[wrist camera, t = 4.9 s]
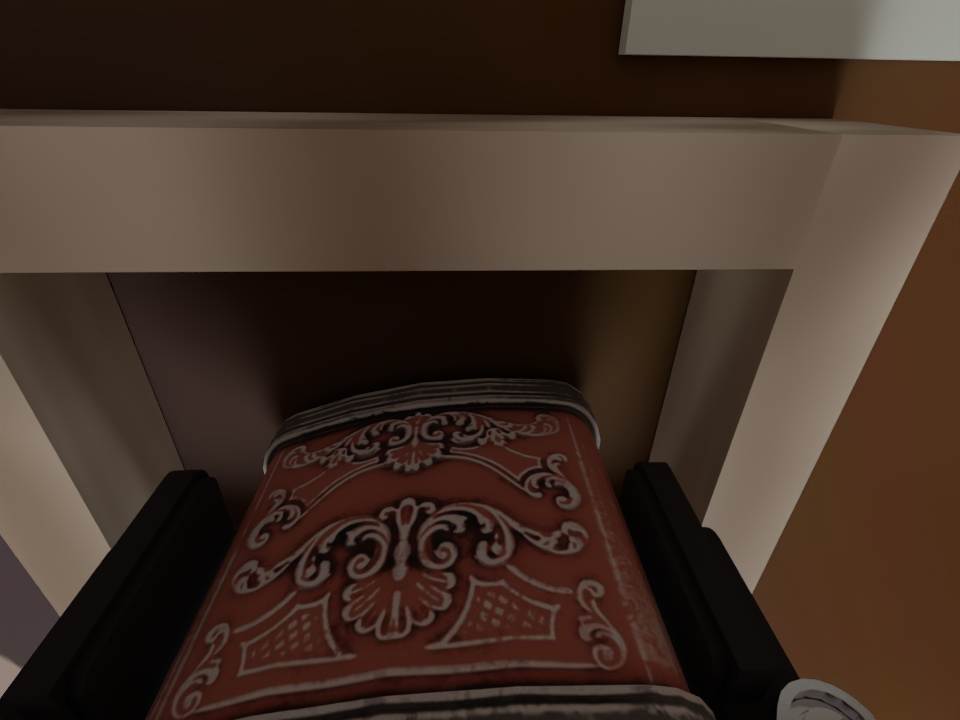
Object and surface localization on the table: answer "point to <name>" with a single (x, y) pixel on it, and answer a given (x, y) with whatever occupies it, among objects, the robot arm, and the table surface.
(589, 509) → the lighter
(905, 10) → the mat
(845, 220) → the slot holder
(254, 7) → the table surface
